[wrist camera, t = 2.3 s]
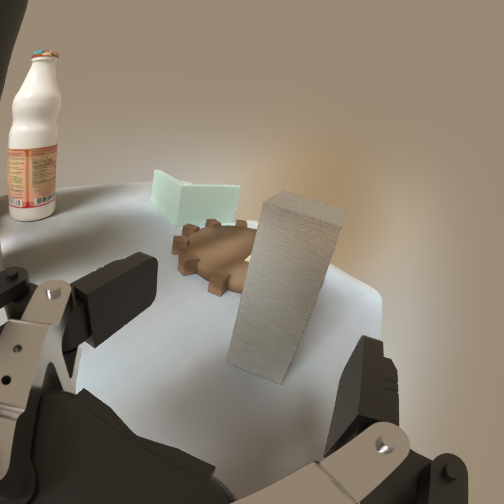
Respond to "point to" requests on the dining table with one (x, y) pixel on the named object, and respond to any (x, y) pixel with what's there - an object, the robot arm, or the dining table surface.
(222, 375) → the dining table surface
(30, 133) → the fruit juice
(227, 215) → the l-shaped corner panel
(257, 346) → the brushed metal block
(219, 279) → the sprocket plate
